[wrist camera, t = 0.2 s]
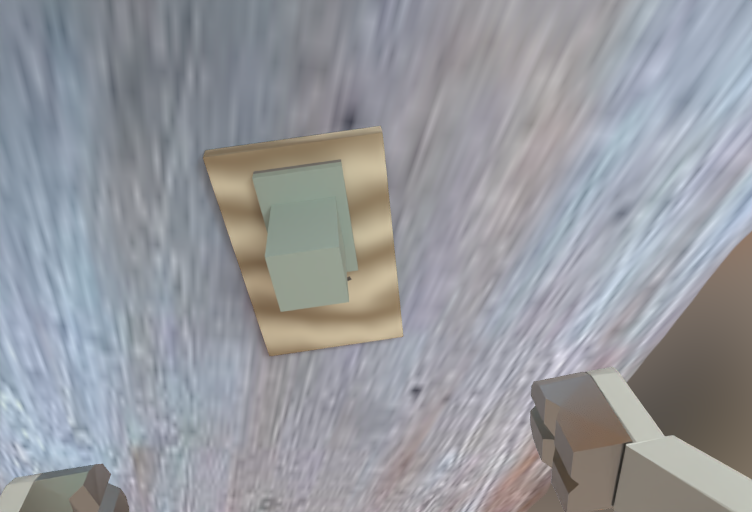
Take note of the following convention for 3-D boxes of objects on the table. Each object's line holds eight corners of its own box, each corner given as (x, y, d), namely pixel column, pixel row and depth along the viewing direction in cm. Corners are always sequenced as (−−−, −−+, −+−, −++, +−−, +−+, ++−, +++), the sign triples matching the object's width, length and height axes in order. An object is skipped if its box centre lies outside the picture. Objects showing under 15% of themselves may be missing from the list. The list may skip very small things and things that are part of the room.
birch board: (205, 150, 47) (202, 157, 46) (380, 125, 47) (382, 132, 46) (270, 346, 63) (269, 356, 62) (401, 327, 63) (403, 336, 62)
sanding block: (253, 171, 47) (242, 228, 40) (341, 159, 47) (346, 213, 40) (281, 273, 54) (276, 337, 47) (357, 262, 55) (364, 324, 47)
